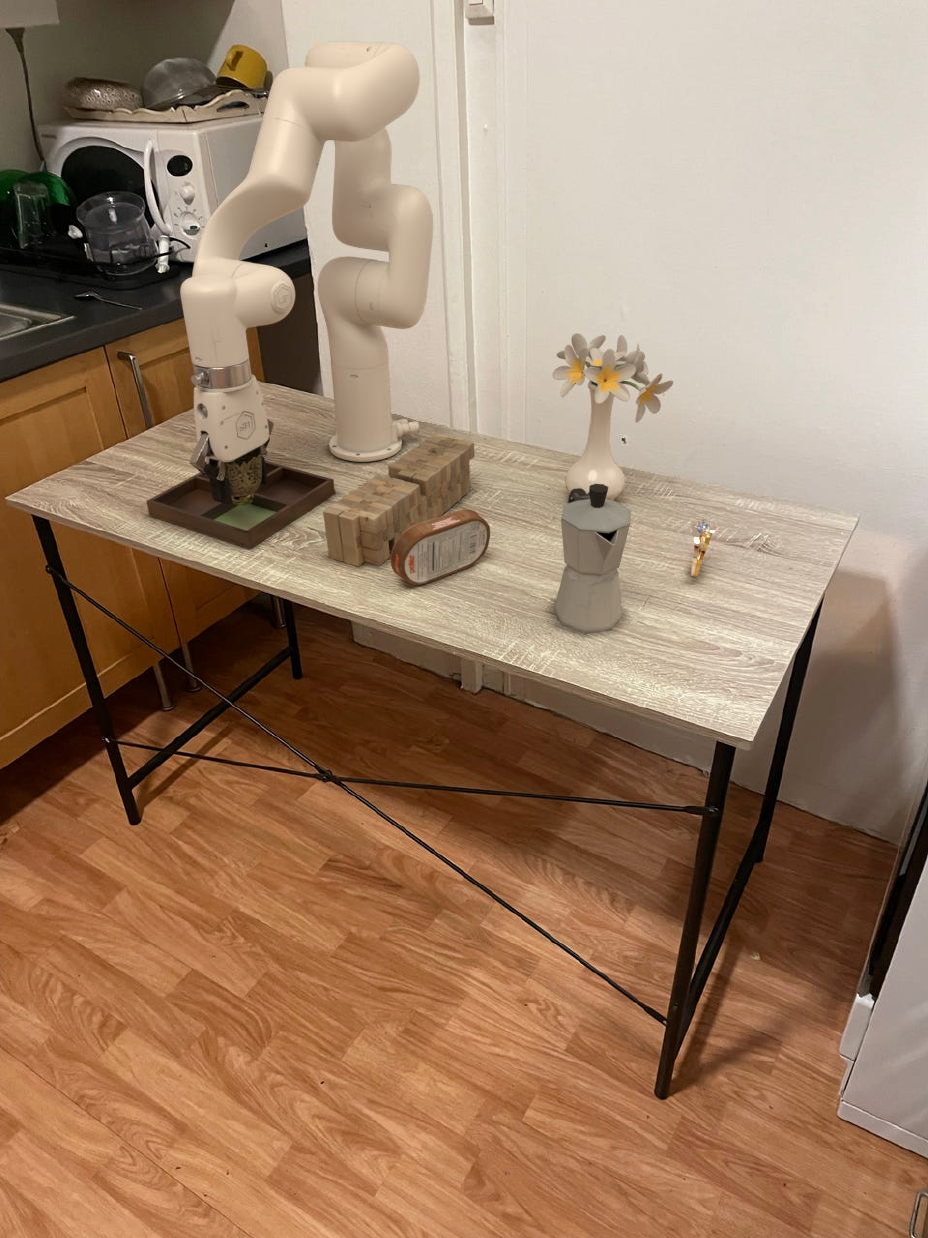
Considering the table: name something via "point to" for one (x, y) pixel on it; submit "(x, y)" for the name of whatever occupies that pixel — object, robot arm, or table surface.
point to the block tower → (398, 500)
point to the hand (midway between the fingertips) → (240, 490)
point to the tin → (440, 546)
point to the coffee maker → (591, 560)
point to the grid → (243, 523)
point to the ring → (700, 543)
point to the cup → (244, 476)
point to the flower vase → (605, 404)
